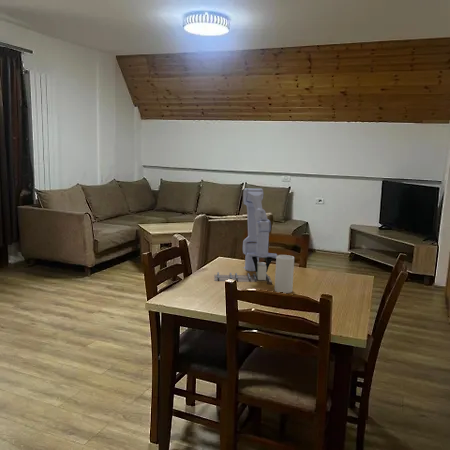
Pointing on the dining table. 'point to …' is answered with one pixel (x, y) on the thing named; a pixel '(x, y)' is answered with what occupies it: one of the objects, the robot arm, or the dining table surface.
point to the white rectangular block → (261, 271)
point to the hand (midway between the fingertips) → (261, 271)
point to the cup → (284, 273)
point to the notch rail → (241, 278)
